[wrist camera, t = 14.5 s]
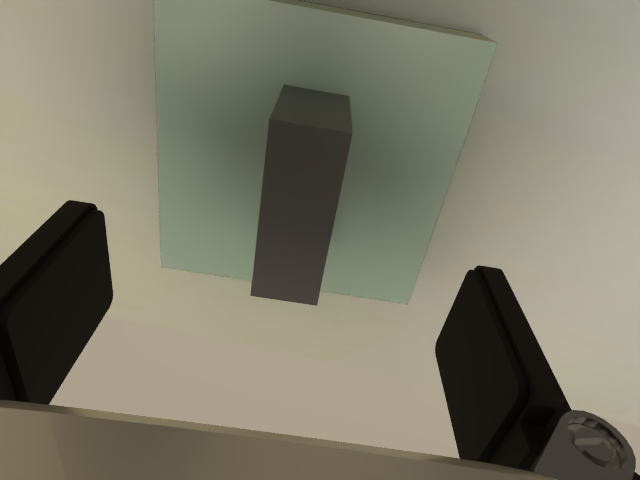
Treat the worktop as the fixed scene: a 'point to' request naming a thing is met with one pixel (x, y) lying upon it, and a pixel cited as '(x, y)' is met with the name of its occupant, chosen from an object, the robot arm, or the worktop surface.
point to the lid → (307, 142)
